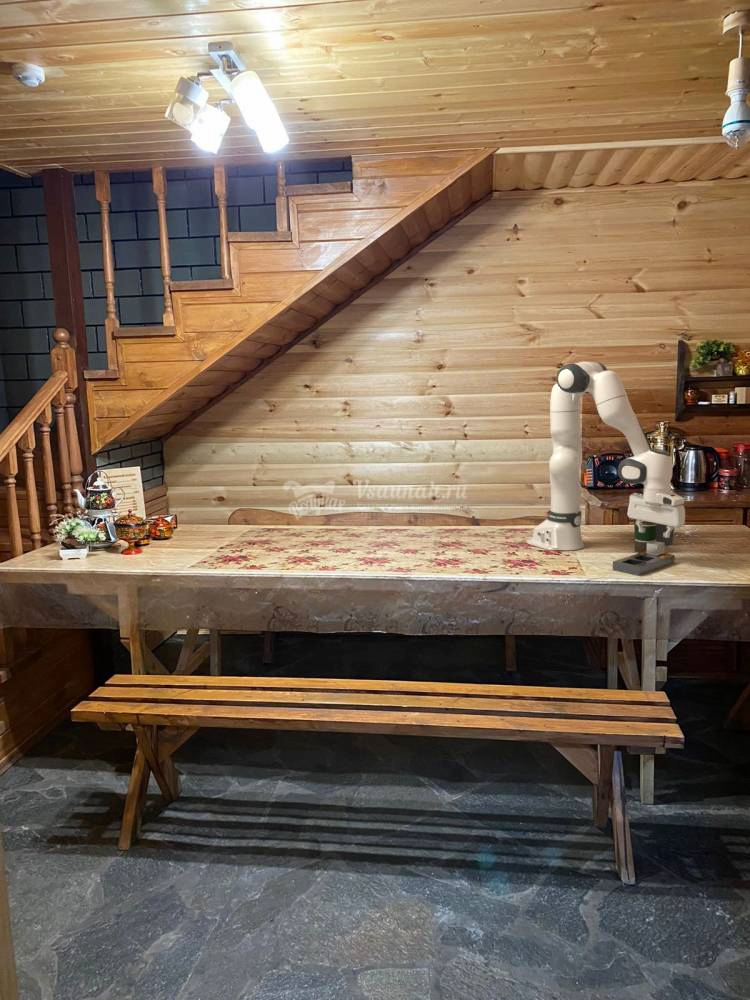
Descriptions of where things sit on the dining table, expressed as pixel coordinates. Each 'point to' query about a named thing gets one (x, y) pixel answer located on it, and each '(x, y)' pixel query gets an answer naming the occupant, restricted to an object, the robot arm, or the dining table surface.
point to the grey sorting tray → (642, 563)
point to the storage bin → (659, 534)
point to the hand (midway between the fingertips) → (653, 534)
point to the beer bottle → (644, 535)
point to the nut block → (655, 549)
